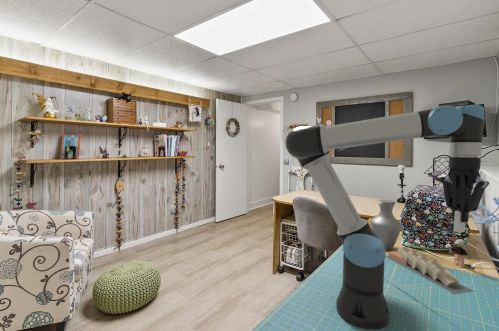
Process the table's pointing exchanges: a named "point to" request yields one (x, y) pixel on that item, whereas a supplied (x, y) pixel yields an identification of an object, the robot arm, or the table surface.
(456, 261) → the grandmother figurine
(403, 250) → the domino
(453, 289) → the domino board
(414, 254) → the domino
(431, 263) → the domino
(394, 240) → the vase
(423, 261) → the domino
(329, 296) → the table surface
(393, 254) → the domino
